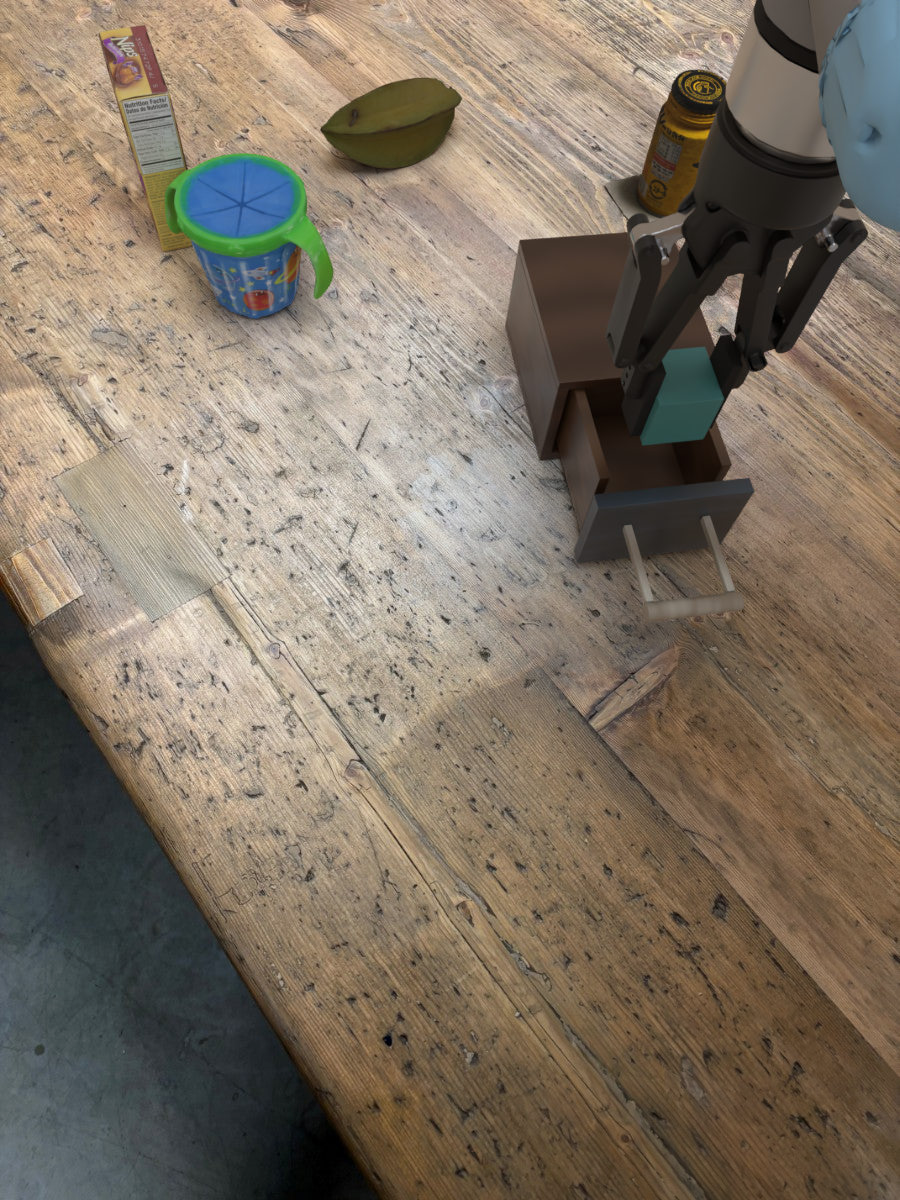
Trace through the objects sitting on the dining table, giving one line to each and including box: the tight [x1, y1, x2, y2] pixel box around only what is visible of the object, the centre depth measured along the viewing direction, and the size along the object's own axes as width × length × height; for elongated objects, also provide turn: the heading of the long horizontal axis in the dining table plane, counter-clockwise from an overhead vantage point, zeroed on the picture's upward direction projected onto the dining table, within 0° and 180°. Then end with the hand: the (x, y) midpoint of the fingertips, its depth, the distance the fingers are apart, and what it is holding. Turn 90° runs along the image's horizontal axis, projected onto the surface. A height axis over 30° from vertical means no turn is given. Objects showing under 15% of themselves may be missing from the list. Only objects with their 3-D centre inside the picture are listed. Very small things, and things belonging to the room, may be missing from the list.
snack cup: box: [165, 152, 335, 320], centre depth 79 cm, size 16×10×10 cm
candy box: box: [97, 24, 193, 252], centre depth 80 cm, size 9×4×15 cm, turn 20°
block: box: [640, 347, 724, 445], centre depth 64 cm, size 4×4×4 cm
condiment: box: [603, 68, 727, 222], centre depth 87 cm, size 7×8×12 cm
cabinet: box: [505, 231, 716, 462], centre depth 77 cm, size 15×13×10 cm
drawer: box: [556, 385, 755, 624], centre depth 70 cm, size 21×12×8 cm, turn 10°
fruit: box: [319, 77, 463, 170], centre depth 90 cm, size 11×12×7 cm
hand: (666, 416), depth 66 cm, fingers closed on block, 4 cm apart
